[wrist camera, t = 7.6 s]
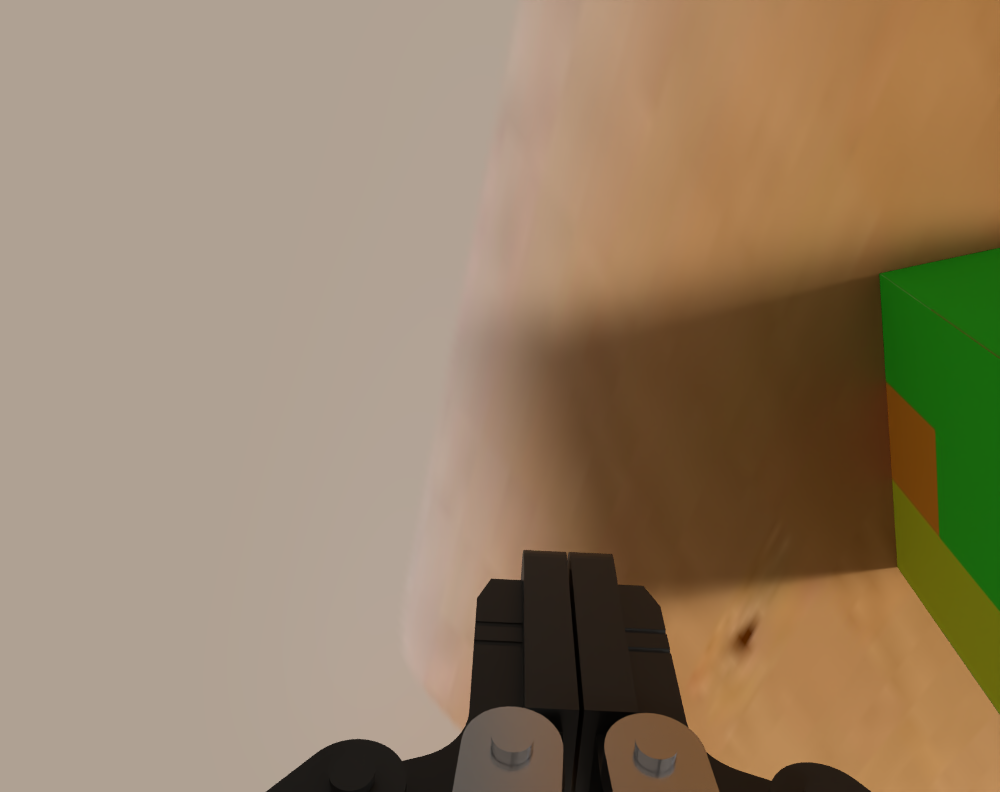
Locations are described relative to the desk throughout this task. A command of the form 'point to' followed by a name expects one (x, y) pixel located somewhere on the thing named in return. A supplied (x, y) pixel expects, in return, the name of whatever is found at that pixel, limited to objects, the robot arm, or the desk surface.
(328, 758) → the robot arm
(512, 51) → the desk surface
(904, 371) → the puzzle toy
